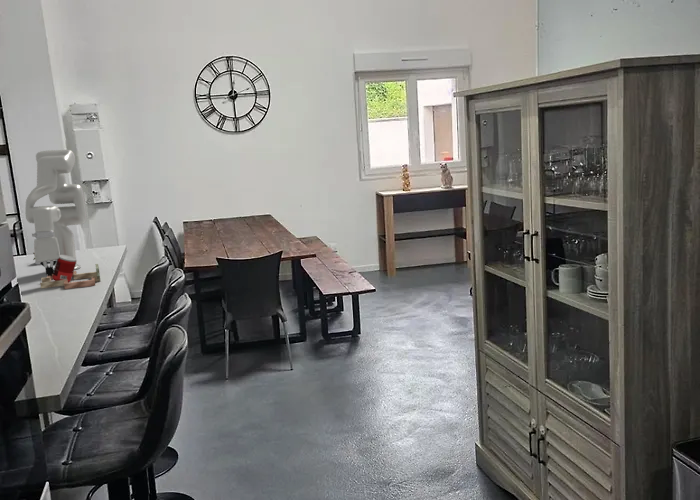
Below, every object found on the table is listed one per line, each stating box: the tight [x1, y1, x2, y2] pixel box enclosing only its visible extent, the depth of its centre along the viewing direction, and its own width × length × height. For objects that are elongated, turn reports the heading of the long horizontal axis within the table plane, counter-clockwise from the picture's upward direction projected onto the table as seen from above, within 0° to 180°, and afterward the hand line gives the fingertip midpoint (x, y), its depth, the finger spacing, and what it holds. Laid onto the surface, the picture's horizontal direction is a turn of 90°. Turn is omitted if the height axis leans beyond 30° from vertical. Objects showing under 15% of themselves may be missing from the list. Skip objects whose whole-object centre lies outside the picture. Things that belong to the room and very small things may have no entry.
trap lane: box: [39, 263, 101, 290], centre depth 293 cm, size 25×29×6 cm
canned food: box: [52, 255, 78, 283], centre depth 291 cm, size 8×8×11 cm
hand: (50, 275), depth 289 cm, fingers closed
